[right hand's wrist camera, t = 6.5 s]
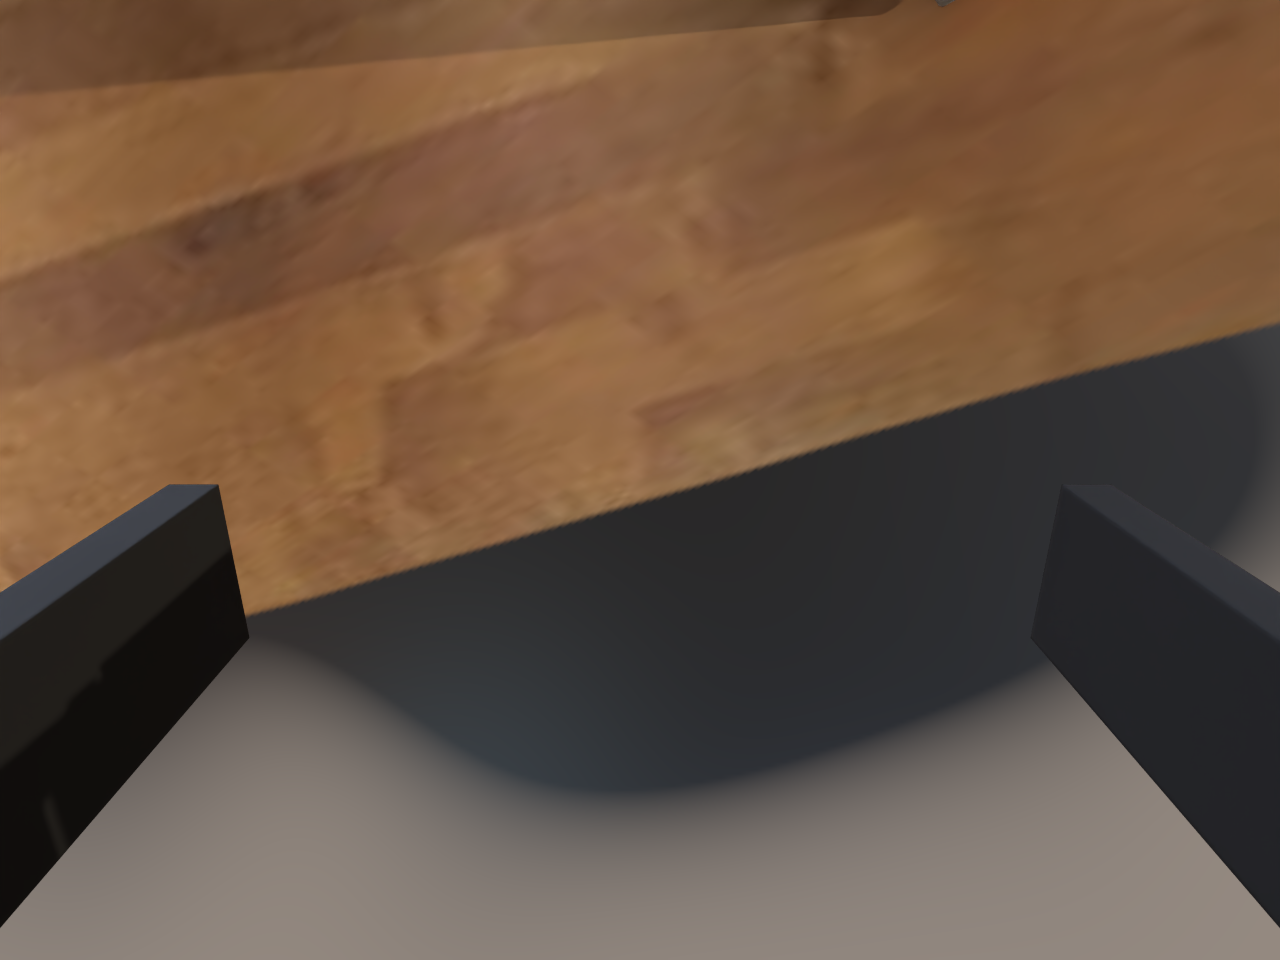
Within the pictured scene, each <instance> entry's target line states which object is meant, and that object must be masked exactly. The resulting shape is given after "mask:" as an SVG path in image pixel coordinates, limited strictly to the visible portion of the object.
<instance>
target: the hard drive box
mask: <svg viewBox="0 0 1280 960" xmlns="http://www.w3.org/2000/svg"><path fill="white" fill-rule="evenodd" d="M935 1H936V2H937V4H938V5H939V6H942V7H943V6H945V5H947V4H949V3H951V2H953V1H955V0H935Z"/></svg>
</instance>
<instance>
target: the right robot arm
mask: <svg viewBox="0 0 1280 960" xmlns="http://www.w3.org/2000/svg"><path fill="white" fill-rule="evenodd" d="M248 639H249V634H248V629H247V624H246V619H245V614H244V609H243V604H242V599H241V594H240V589H239V584H238V579H237V574H236V569H235V564H234V560H233V555H232V550H231V545H230V540H229V535H228V530H227V525H226V520H225V515H224V510H223V505H222V500H221V495H220V490H219V486H218V485H168V486H166V487H165V488H163V489H161V490H160V491H158V492H157V493H155V494H154V495H152V496H150V497H149V498H147V499H146V500H144V501H143V502H141V503H140V504H138V505H136V506H135V507H133V508H132V509H130V510H129V511H127V512H125V513H124V514H122V515H121V516H119V517H118V518H116V519H115V520H113V521H111V522H110V523H108V524H107V525H105V526H104V527H102V528H100V529H99V530H97V531H96V532H94V533H93V534H91V535H90V536H88V537H86V538H85V539H83V540H82V541H80V542H79V543H77V544H75V545H74V546H72V547H71V548H69V549H68V550H66V551H65V552H63V553H61V554H60V555H58V556H57V557H55V558H54V559H52V560H51V561H49V562H47V563H46V564H44V565H43V566H41V567H40V568H38V569H36V570H35V571H33V572H32V573H30V574H29V575H27V576H26V577H24V578H22V579H21V580H19V581H18V582H16V583H15V584H13V585H11V586H10V587H8V588H7V589H5V590H4V591H2V592H1V593H0V927H1V926H2V925H3V924H4V923H5V922H6V920H7V919H8V918H9V917H10V916H11V915H12V913H13V912H14V911H15V910H16V909H17V908H18V907H19V905H20V904H21V903H22V902H23V901H24V900H25V898H26V897H27V896H28V895H29V894H30V892H31V891H32V890H33V889H34V888H35V887H36V886H37V884H38V883H39V882H40V881H41V880H42V879H43V877H44V876H45V875H46V874H47V873H48V872H49V870H50V869H51V868H52V867H53V866H54V865H55V863H56V862H57V861H58V860H59V859H60V858H61V856H62V855H63V854H64V853H65V852H66V851H67V849H68V848H69V847H70V846H71V845H72V844H73V842H74V841H75V840H76V839H77V838H78V837H79V835H80V834H81V833H82V832H83V831H84V830H85V829H86V827H87V826H88V825H89V824H90V823H91V822H92V820H93V819H94V818H95V817H96V816H97V815H98V813H99V812H100V811H101V810H102V809H103V808H104V806H105V805H106V804H107V803H108V802H109V801H110V799H111V798H112V797H113V796H114V795H115V794H116V792H117V791H118V790H119V789H120V788H121V787H122V785H123V784H124V783H125V782H126V781H127V780H128V778H129V777H130V776H131V775H132V774H133V773H134V771H135V770H136V769H137V768H138V767H139V766H140V764H141V763H142V762H143V761H144V760H145V759H146V757H147V756H148V755H149V754H150V753H151V752H152V750H153V749H154V748H155V747H156V746H157V745H158V744H159V742H160V741H161V740H162V739H163V738H164V736H165V735H166V734H167V733H168V732H169V731H170V730H171V728H172V727H173V726H174V725H175V724H176V723H177V721H178V720H179V719H180V718H181V717H182V716H183V714H184V713H185V712H186V711H187V710H188V709H189V707H190V706H191V705H192V704H193V703H194V702H195V700H196V699H197V698H198V697H199V696H200V695H201V693H202V692H203V691H204V690H205V689H206V688H207V686H208V685H209V684H210V683H211V682H212V681H213V679H214V678H215V677H216V676H217V675H218V674H219V673H220V671H221V670H222V669H223V668H224V667H225V666H226V664H227V663H228V662H229V661H230V660H231V658H232V657H233V656H234V655H235V654H236V653H237V652H238V650H239V649H240V648H241V647H242V646H243V644H244V643H245V642H246V641H247V640H248ZM1031 639H1032V640H1033V641H1034V642H1035V643H1036V645H1037V646H1038V647H1039V648H1040V649H1041V650H1042V652H1043V653H1044V654H1045V655H1046V656H1047V657H1048V658H1049V660H1050V661H1051V662H1052V663H1053V664H1054V666H1055V667H1056V668H1057V669H1058V670H1059V671H1060V672H1061V674H1062V675H1063V676H1064V677H1065V678H1066V680H1067V681H1068V682H1069V683H1070V684H1071V685H1072V686H1073V688H1074V689H1075V690H1076V691H1077V692H1078V693H1079V695H1080V696H1081V697H1082V698H1083V699H1084V700H1085V702H1086V703H1087V704H1088V705H1089V706H1090V707H1091V709H1092V710H1093V711H1094V712H1095V713H1096V714H1097V716H1098V717H1099V718H1100V719H1101V720H1102V721H1103V723H1104V724H1105V725H1106V726H1107V727H1108V728H1109V730H1110V731H1111V732H1112V733H1113V734H1114V735H1115V737H1116V738H1117V739H1118V740H1119V741H1120V742H1121V743H1122V745H1123V746H1124V747H1125V748H1126V749H1127V751H1128V752H1129V753H1130V754H1131V755H1132V756H1133V758H1134V759H1135V760H1136V761H1137V762H1138V763H1139V765H1140V766H1141V767H1142V768H1143V769H1144V770H1145V771H1146V773H1147V774H1148V775H1149V776H1150V777H1151V778H1152V780H1153V781H1154V782H1155V783H1156V784H1157V785H1158V787H1159V788H1160V789H1161V790H1162V791H1163V792H1164V794H1165V795H1166V796H1167V797H1168V798H1169V799H1170V801H1171V802H1172V803H1173V804H1174V805H1175V806H1176V808H1177V809H1178V810H1179V811H1180V812H1181V813H1182V815H1183V816H1184V817H1185V818H1186V819H1187V820H1188V821H1189V823H1190V824H1191V825H1192V826H1193V827H1194V829H1195V830H1196V831H1197V832H1198V833H1199V834H1200V835H1201V837H1202V838H1203V839H1204V840H1205V841H1206V843H1207V844H1208V845H1209V846H1210V847H1211V848H1212V849H1213V851H1214V852H1215V853H1216V854H1217V855H1218V856H1219V858H1220V859H1221V860H1222V861H1223V862H1224V863H1225V865H1226V866H1227V867H1228V868H1229V869H1230V870H1231V872H1232V873H1233V874H1234V875H1235V876H1236V877H1237V879H1238V880H1239V881H1240V882H1241V883H1242V884H1243V886H1244V887H1245V888H1246V889H1247V890H1248V891H1249V893H1250V894H1251V895H1252V896H1253V897H1254V898H1255V900H1256V901H1257V902H1258V903H1259V904H1260V905H1261V907H1262V908H1263V909H1264V910H1265V911H1266V912H1267V914H1268V915H1269V916H1270V917H1271V918H1272V919H1273V921H1274V922H1275V923H1276V924H1277V925H1278V926H1279V927H1280V593H1279V592H1278V591H1276V590H1275V589H1273V588H1272V587H1270V586H1268V585H1267V584H1265V583H1264V582H1262V581H1261V580H1259V579H1258V578H1256V577H1254V576H1253V575H1251V574H1250V573H1248V572H1247V571H1245V570H1244V569H1242V568H1240V567H1239V566H1237V565H1236V564H1234V563H1233V562H1231V561H1229V560H1228V559H1226V558H1225V557H1223V556H1222V555H1220V554H1219V553H1217V552H1215V551H1214V550H1212V549H1211V548H1209V547H1208V546H1206V545H1204V544H1203V543H1201V542H1200V541H1198V540H1197V539H1195V538H1193V537H1192V536H1190V535H1189V534H1187V533H1186V532H1184V531H1183V530H1181V529H1180V528H1178V527H1176V526H1175V525H1173V524H1172V523H1170V522H1169V521H1167V520H1165V519H1164V518H1162V517H1161V516H1159V515H1158V514H1156V513H1155V512H1153V511H1151V510H1150V509H1148V508H1147V507H1145V506H1144V505H1142V504H1140V503H1139V502H1137V501H1136V500H1134V499H1133V498H1131V497H1130V496H1128V495H1126V494H1125V493H1123V492H1122V491H1120V490H1119V489H1117V488H1115V487H1114V486H1112V485H1062V486H1061V490H1060V496H1059V500H1058V505H1057V510H1056V515H1055V520H1054V525H1053V530H1052V535H1051V540H1050V545H1049V550H1048V555H1047V560H1046V565H1045V569H1044V574H1043V579H1042V584H1041V589H1040V594H1039V599H1038V604H1037V609H1036V614H1035V619H1034V624H1033V629H1032V634H1031Z"/></svg>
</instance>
